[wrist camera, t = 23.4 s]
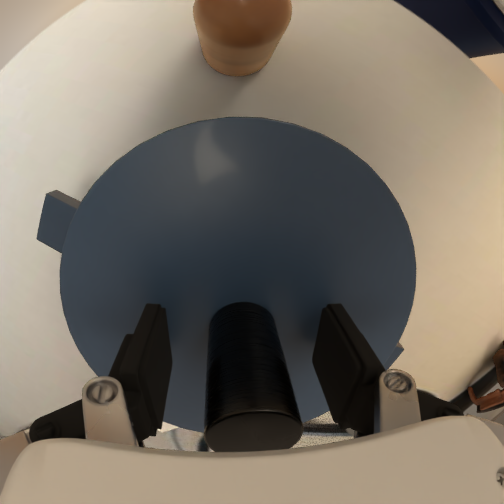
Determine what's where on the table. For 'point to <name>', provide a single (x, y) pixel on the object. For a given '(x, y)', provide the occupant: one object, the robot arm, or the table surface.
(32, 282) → the table surface
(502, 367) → the orange-brown curved ring piece
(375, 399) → the robot arm
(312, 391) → the lid
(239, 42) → the brown domed cylinder
